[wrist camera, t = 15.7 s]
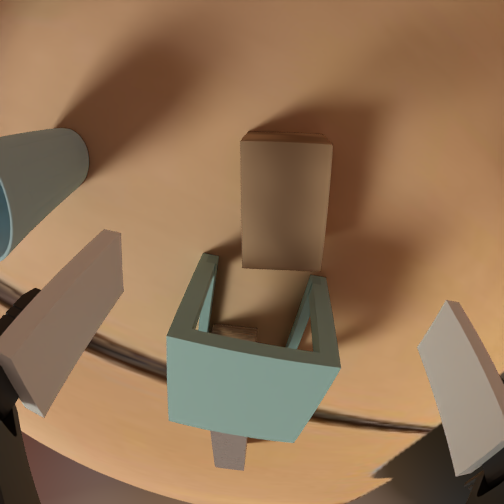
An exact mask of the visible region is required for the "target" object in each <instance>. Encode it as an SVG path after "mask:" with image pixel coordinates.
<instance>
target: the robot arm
mask: <svg viewBox="0 0 504 504" xmlns="http://www.w3.org/2000/svg"><path fill="white" fill-rule="evenodd" d="M123 292H124V288H123V273H122V250H121V233H119V232H115V231H110V230H105V229H104V230H103V231H101V232H100V233H99V234H98V235H97V236H96V237H95V238H94V239H93V240H92V241H91V242H89V243H88V244H87V245H86V246H85V247H84V248H83V249H82V250H81V251H80V252H79V253H78V254H77V255H76V256H75V257H74V258H73V259H72V260H71V261H70V262H69V263H68V264H67V265H65V266H64V267H63V268H62V269H61V270H60V271H59V272H58V273H57V275H56V276H55V277H54V278H53V279H52V280H51V281H50V282H49V283H48V284H47V285H46V286H45V287H44V288H43V289H42V290H40V289H37V288H34V289H32V290H30V291H29V292H27V293H25V294H23V295H22V296H21V297H20V298H19V299H18V300H17V301H16V302H15V303H14V304H13V307H11V308H10V309H9V310H8V311H7V312H6V315H3V316H2V318H1V319H0V504H41V503H40V500H39V497H38V494H37V491H36V488H35V485H34V481H33V478H32V475H31V471H30V467H29V464H28V460H27V456H26V452H25V447H24V443H23V438H22V434H21V428H20V423H19V418H18V412H17V408H16V406H15V403H16V401H17V399H18V398H20V400H21V401H22V403H23V405H24V406H25V408H27V409H29V410H31V411H32V412H34V413H36V414H38V415H40V416H42V417H45V416H46V414H47V412H48V410H49V408H50V407H51V405H52V403H53V401H54V400H55V398H56V396H57V394H58V393H59V391H60V389H61V388H62V386H63V384H64V383H65V381H66V379H67V378H68V376H69V374H70V373H71V371H72V369H73V368H74V366H75V364H76V363H77V361H78V360H79V358H80V356H81V355H82V353H83V352H84V350H85V348H86V347H87V345H88V344H89V342H90V341H91V339H92V338H93V336H94V334H95V333H96V331H97V330H98V328H99V327H100V325H101V324H102V322H103V321H104V319H105V318H106V316H107V315H108V313H109V312H110V310H111V309H112V308H113V306H114V305H115V303H116V302H117V300H118V299H119V297H120V296H121V294H122V293H123ZM417 348H418V351H419V354H420V357H421V359H422V362H423V365H424V368H425V370H426V373H427V376H428V379H429V382H430V385H431V388H432V391H433V394H434V397H435V400H436V404H437V407H438V410H439V413H440V417H441V420H442V424H443V427H444V431H445V434H446V437H447V442H448V445H449V449H450V453H451V457H452V461H453V465H454V470H455V475H456V476H460V475H464V474H469V473H471V472H473V471H474V470H475V469H477V468H478V467H479V466H481V465H482V467H483V471H481V472H480V473H478V474H477V475H476V476H474V477H473V478H471V479H470V480H468V481H467V482H466V483H465V484H464V487H466V486H468V485H469V484H471V483H472V482H475V483H474V484H473V485H471V486H470V487H469V488H468V489H469V490H471V493H470V495H469V498H468V500H467V502H466V504H504V380H503V379H502V378H501V376H500V375H499V374H498V372H497V370H496V368H495V366H494V364H493V362H492V360H491V358H490V356H489V354H488V352H487V350H486V348H485V347H484V345H483V343H482V341H481V339H480V337H479V336H478V334H477V332H476V330H475V329H474V327H473V325H472V323H471V322H470V320H469V318H468V317H467V315H466V313H465V312H464V310H463V308H462V307H461V305H460V304H459V302H454V301H449V300H446V301H445V303H444V304H443V306H442V308H441V310H440V311H439V313H438V315H437V316H436V318H435V320H434V321H433V323H432V325H431V326H430V328H429V330H428V331H427V333H426V334H425V336H424V338H423V339H422V341H421V342H420V344H419V345H418V347H417Z"/></svg>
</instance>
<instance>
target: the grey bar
mask: <svg viewBox="0 0 504 504" xmlns="http://www.w3.org/2000/svg"><path fill="white" fill-rule="evenodd" d="M211 333H212V334H217V335H222V336H226V337H231V338H236V339H241V340H247V341H252V342H256V337H257V328H250V327H240V326H230V325H221V324H214V325H213V328H212V332H211ZM210 431H211V430H210ZM211 439H212V447H213V455H214V462H215V467H219V468H226V469H234V470H243V471H244V465H245V457H246V449H247V440H248V437H244V436H238V435H232V434H226V433H221V432H216V431H211Z"/></svg>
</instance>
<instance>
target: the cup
mask: <svg viewBox="0 0 504 504" xmlns="http://www.w3.org/2000/svg"><path fill="white" fill-rule="evenodd" d="M88 168H89V156H88V150H87V147H86V145H85V143H84V141H83V140H82V138H81V137H80V136H79V135H78V134H77V133H76V132H74V131H73V130H71V129H66V128H55V129H47V130H39V131H32V132H26V133H20V134H14V135H9V136H3V137H0V261H2V260H3V259H5V258H6V257H7V256H8V255H9V254H10V252H11V251H12V250H13V249H14V248H15V247H16V246H17V245H18V244H19V243H20V242H21V241H22V240H23V239H24V238H25V237H26V236H27V235H28V233H29V232H30V231H31V230H33V229H34V228H35V227H36V226H37V225H38V224H39V223H40V222H41V221H42V220H43V219H44V218H45V217H46V216H47V215H48V214H49V213H50V212H51V211H52V210H53V209H55V208H56V207H57V206H58V205H59V204H60V203H61V202H62V201H63V200H64V199H66V198H67V197H68V196H69V195H70V194H71V193H72V192H73V191H75V190H76V189H77V188H78V187H79V186H80V185H81V184H82V182H83V181H84V180H85V178H86V176H87V172H88Z"/></svg>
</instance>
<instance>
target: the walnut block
mask: <svg viewBox="0 0 504 504" xmlns="http://www.w3.org/2000/svg"><path fill="white" fill-rule="evenodd" d="M332 151H333V144H332V143H331V142H330V141H329V140H328V139H327V138H326V137H325V136H324V135H323V134H311V133H292V132H260V131H248V132H247V134H246V135H245V136H244V137H243V138H242V140H241V141H240V154H241V228H242V268H250V269H272V270H296V271H321V265H322V257H323V249H324V240H325V231H326V222H327V212H328V201H329V190H330V178H331V166H332Z"/></svg>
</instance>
